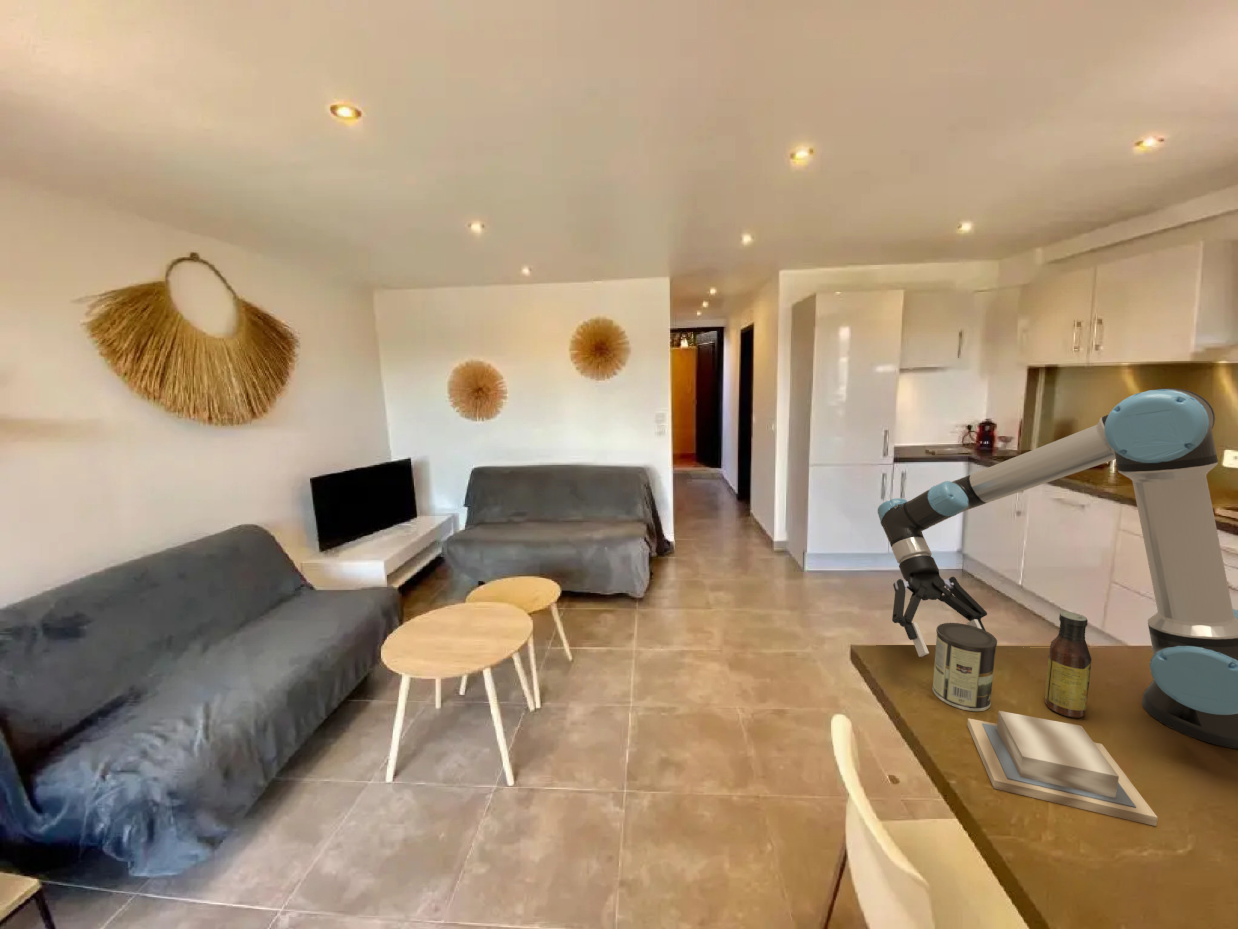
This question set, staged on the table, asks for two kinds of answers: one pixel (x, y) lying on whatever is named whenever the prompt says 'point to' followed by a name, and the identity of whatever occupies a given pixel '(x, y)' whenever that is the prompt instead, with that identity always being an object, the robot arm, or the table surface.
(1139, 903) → the table surface
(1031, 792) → the plate
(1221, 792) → the table surface
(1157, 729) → the table surface
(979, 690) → the coffee can
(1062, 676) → the sauce bottle
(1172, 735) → the table surface
